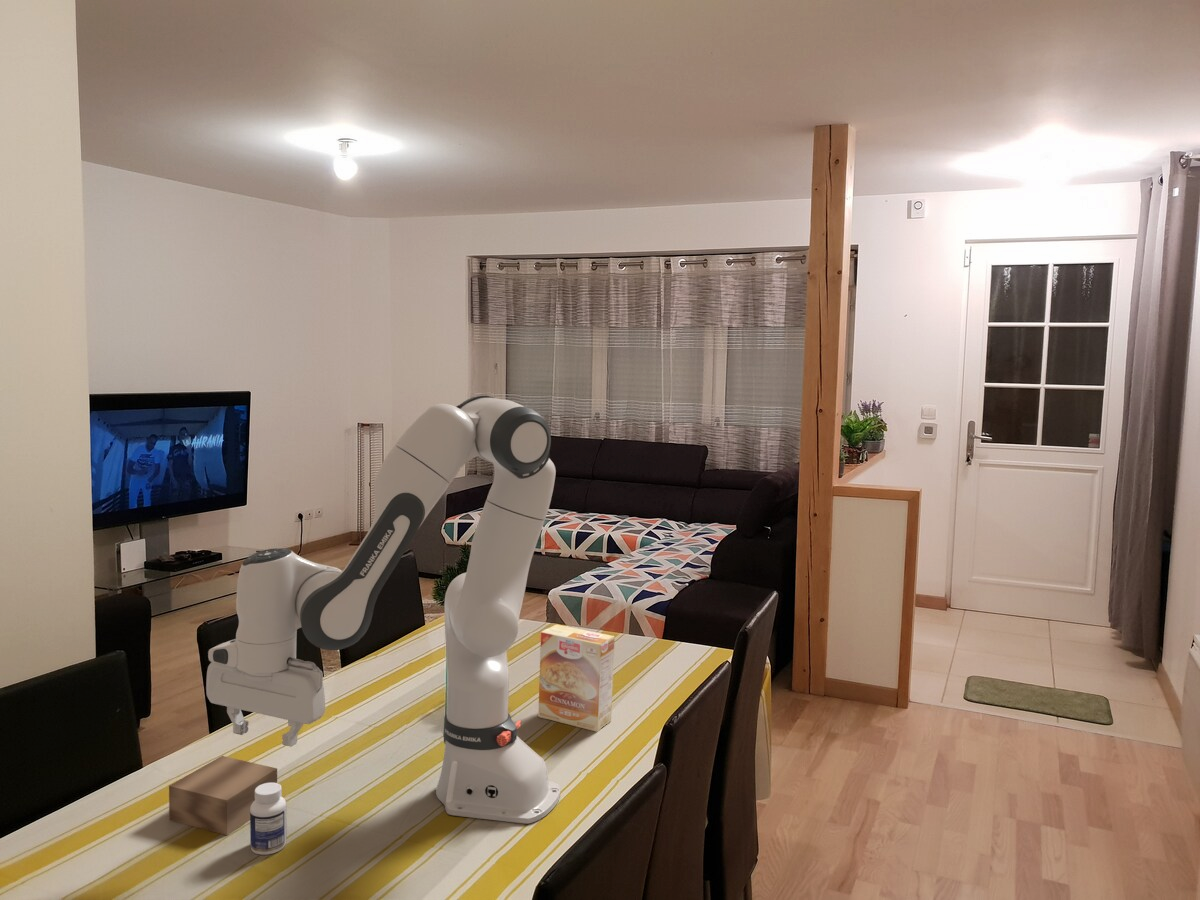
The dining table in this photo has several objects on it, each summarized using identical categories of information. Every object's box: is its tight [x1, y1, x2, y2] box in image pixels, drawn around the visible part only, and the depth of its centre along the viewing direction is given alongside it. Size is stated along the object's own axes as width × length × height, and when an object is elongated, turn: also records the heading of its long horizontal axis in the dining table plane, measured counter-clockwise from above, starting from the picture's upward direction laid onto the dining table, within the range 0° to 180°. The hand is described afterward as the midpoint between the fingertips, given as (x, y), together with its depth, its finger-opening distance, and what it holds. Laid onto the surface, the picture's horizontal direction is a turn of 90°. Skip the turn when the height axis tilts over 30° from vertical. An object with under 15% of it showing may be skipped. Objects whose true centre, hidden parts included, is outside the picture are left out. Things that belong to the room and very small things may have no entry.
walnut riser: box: [168, 755, 278, 836], centre depth 150 cm, size 12×12×6 cm
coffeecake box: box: [538, 623, 615, 733], centre depth 192 cm, size 15×7×20 cm, turn 63°
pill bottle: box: [249, 782, 287, 856], centre depth 140 cm, size 5×5×10 cm
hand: (264, 738), depth 138 cm, fingers open, 8 cm apart
